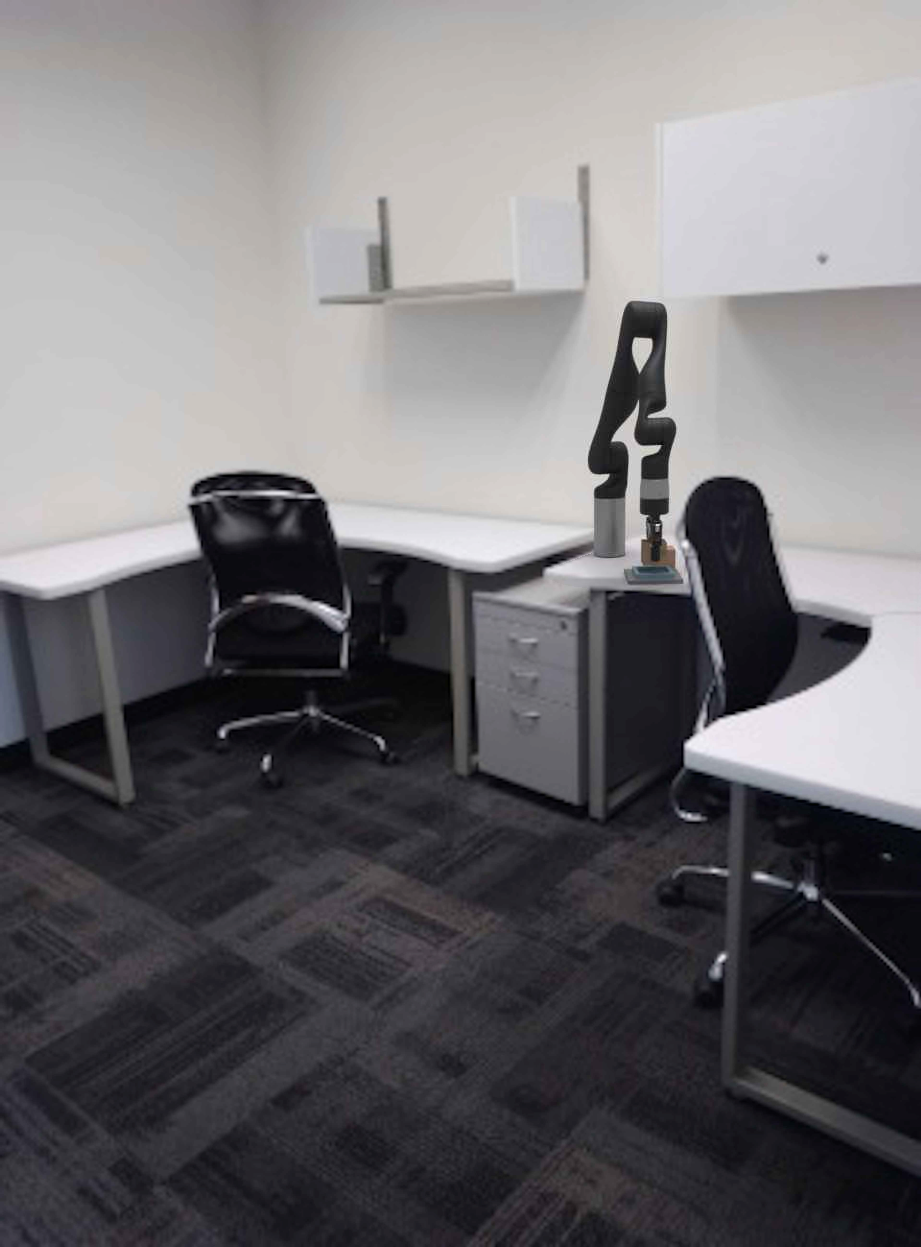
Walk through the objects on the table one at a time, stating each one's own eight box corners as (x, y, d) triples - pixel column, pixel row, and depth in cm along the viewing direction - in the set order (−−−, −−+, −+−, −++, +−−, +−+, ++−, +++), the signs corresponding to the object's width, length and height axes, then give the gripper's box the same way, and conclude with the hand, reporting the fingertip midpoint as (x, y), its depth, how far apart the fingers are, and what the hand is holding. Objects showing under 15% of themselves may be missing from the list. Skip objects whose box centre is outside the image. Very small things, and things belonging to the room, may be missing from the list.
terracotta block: (650, 567, 272) (650, 546, 271) (672, 566, 272) (672, 545, 270) (653, 571, 267) (653, 550, 265) (675, 571, 266) (675, 549, 264)
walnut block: (640, 561, 261) (641, 539, 259) (663, 560, 260) (663, 538, 259) (643, 565, 255) (643, 543, 254) (666, 565, 255) (666, 542, 253)
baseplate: (623, 572, 266) (623, 564, 266) (675, 571, 265) (675, 563, 264) (628, 584, 253) (628, 576, 252) (683, 583, 252) (683, 575, 251)
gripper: (673, 499, 246) (671, 564, 250) (665, 491, 260) (664, 553, 264) (643, 499, 246) (642, 564, 251) (636, 492, 260) (636, 554, 265)
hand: (653, 558), depth 257 cm, fingers closed on walnut block, 6 cm apart
